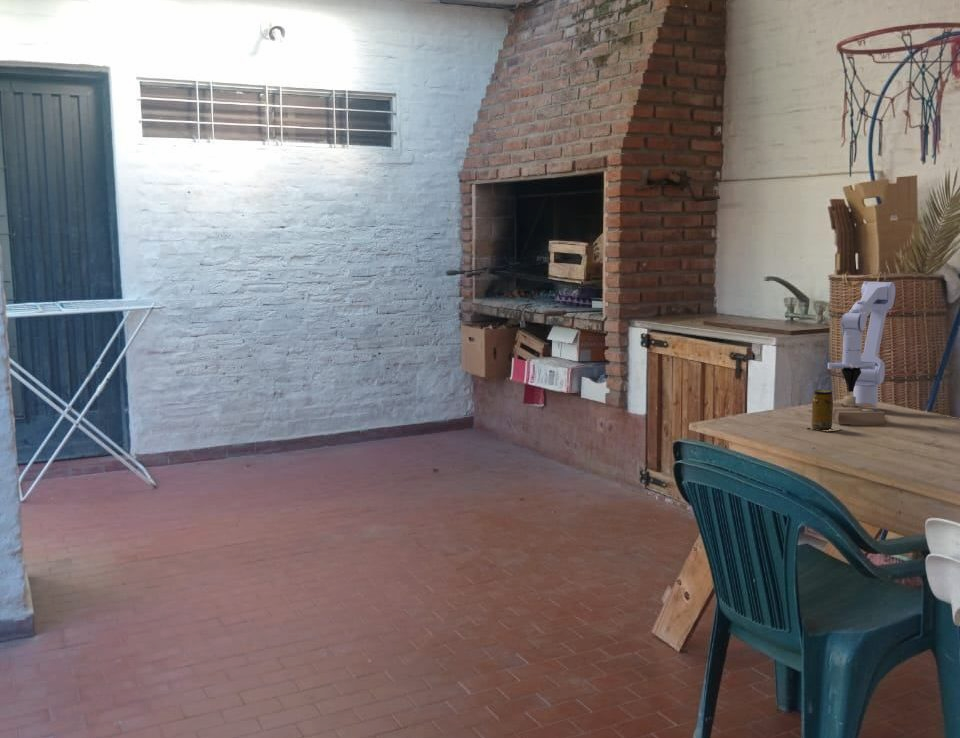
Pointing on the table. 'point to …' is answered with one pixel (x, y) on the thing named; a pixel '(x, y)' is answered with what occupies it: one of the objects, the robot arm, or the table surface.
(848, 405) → the peg
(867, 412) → the board
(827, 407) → the condiment
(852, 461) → the table surface
